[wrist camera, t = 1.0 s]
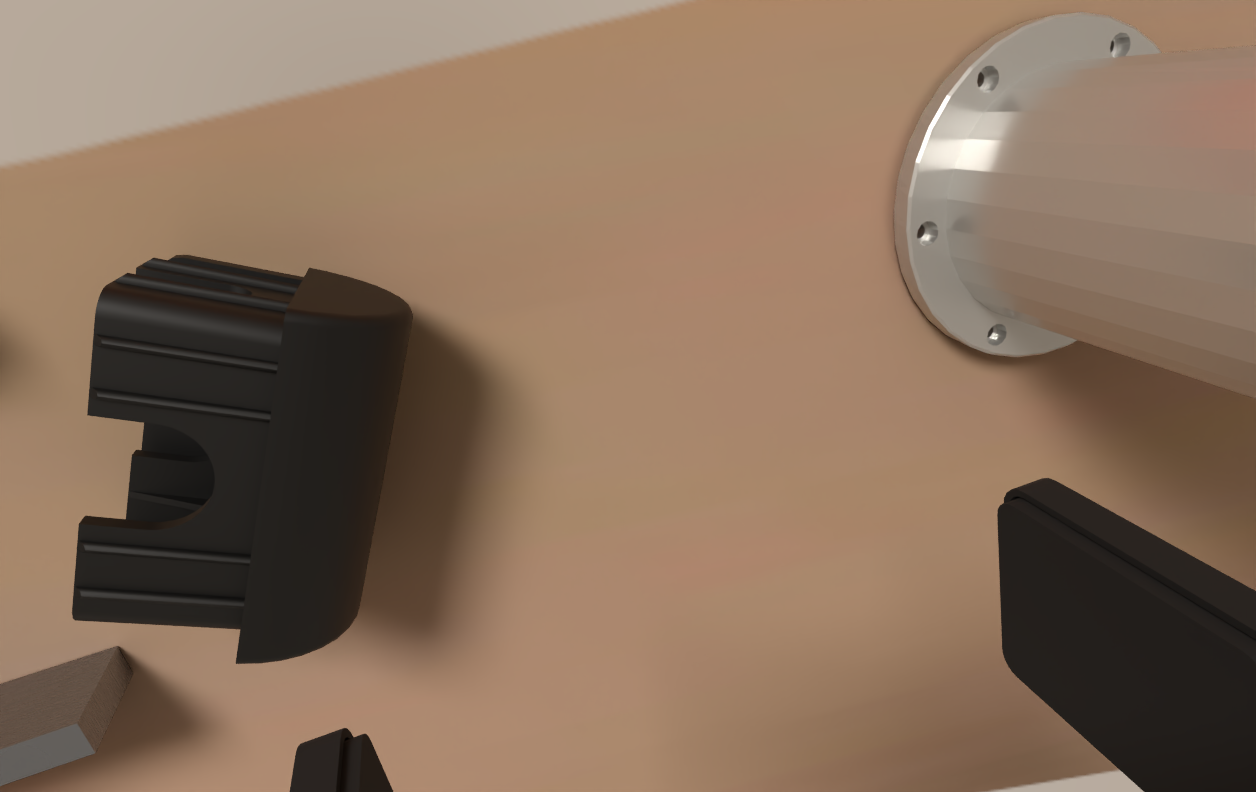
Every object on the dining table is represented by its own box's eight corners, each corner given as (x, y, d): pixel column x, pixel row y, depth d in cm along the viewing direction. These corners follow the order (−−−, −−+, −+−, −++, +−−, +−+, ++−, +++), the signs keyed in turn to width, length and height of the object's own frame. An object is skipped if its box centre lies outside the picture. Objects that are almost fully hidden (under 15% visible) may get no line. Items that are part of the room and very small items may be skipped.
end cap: (362, 553, 29) (354, 673, 22) (138, 533, 26) (59, 661, 20) (411, 282, 26) (417, 333, 20) (168, 234, 24) (88, 275, 18)
